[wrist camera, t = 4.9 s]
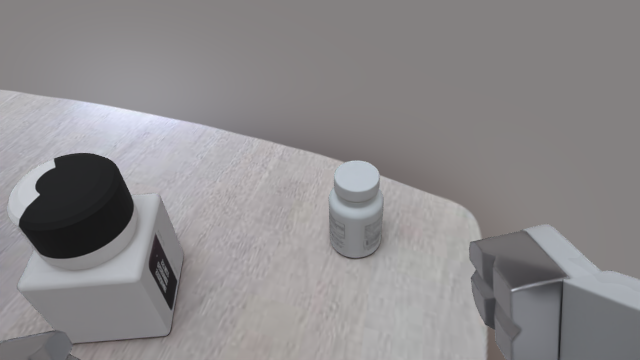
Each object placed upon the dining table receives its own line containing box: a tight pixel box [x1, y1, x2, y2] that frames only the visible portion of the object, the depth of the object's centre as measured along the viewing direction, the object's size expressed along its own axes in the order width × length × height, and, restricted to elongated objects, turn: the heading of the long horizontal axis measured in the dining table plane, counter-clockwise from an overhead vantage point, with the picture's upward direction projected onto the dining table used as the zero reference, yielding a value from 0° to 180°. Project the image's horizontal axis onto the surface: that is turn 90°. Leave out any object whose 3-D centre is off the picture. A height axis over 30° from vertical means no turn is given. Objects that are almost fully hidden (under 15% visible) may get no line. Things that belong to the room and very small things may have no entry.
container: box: [7, 153, 184, 343], centre depth 32 cm, size 8×8×13 cm
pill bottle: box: [329, 161, 384, 258], centre depth 37 cm, size 4×4×8 cm
